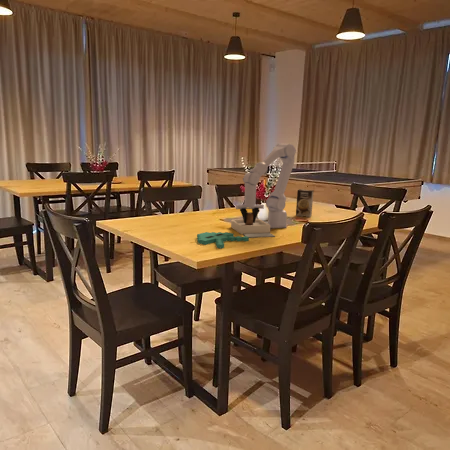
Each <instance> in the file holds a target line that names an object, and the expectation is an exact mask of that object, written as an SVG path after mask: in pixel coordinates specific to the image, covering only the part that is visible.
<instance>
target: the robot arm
mask: <svg viewBox="0 0 450 450" xmlns="http://www.w3.org/2000/svg"><path fill="white" fill-rule="evenodd" d="M296 153H297V150H296V147H295V145H294V144H293V143H281V142H279V143H277V144H276V145H275V146H274V147H273V149H272V150H271V152H270V153H269V154H268V155H267V156H266V158H265V159H264V160H263V161H262V162H261V161H259V162H256V163H255V166H254V167H253V168H252V169H250V170H249V172H246V173H245V174H244V176H243V178H242V181H243V183H244V203H243V204H235V209H236V210H239V211H240V213H241V215H242V219H243V221H244V223H246V217H247V212H248V210H251V212H252V213H253V223H255V220H256V219H257V216H258V215H259V212H260V209H262V210H263V209H264V207H265V205H266V207H267V209H268V211H267V213H268V215H267V216H268V217H267V223H268V224H269V225H270V229H275V228H276V229H278V228H279V229H281V228H282V229H283V228H288V226H287V219H288V218H287V217H288V214H287V211H286V210H284V209H285V207H286V200H287V197H286V195H285V192H286V190H287V186H288V183H289V179H290V177H291V174H292V171H293V168H294V165H295V155H296ZM278 158H279V159H280V160H281V161H282V164H281V169H280V172H279V175H278V177H277V181H276V184H275V187H274V190H273V191H272V192H271V193H270V194H269V196H268V198H267V199H266V201H265V205H264V204H258V203H257V204H256V201H257V184H258V183H259V182H260V178H261V177H262V176H263V175H264V174H265V173H266V172H267V171H268V167H269V166H270V165H271V164H273V162H275V161H276V160H277V159H278Z"/></svg>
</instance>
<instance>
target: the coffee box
mask: <svg viewBox="0 0 450 450" xmlns="http://www.w3.org/2000/svg"><path fill="white" fill-rule="evenodd" d="M314 191H315V190H313V189H303V188H302V189H301V188H298V189H297V192H296V193H297V195H296V205H295V206H296V209H295V216H296V217H303V216H306V217H307V218H311V217H312V214H313V203H314V202H313V201H314ZM306 217H305V218H306Z"/></svg>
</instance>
